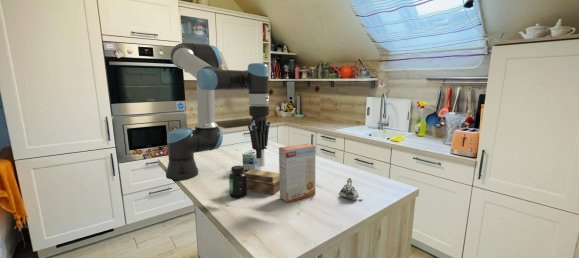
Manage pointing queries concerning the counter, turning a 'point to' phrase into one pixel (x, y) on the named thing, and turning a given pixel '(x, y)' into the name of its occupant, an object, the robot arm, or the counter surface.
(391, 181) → the counter surface
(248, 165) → the light bulb box
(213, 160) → the counter surface
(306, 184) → the cracker box
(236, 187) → the supplement bottle
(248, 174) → the lid
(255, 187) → the brown wooden drawer
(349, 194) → the grey lumpy piece
